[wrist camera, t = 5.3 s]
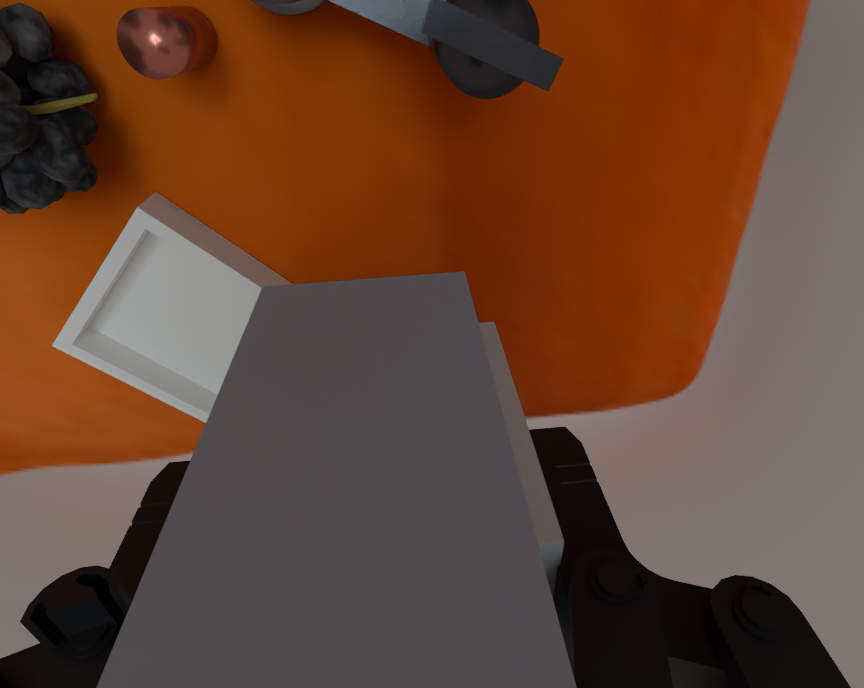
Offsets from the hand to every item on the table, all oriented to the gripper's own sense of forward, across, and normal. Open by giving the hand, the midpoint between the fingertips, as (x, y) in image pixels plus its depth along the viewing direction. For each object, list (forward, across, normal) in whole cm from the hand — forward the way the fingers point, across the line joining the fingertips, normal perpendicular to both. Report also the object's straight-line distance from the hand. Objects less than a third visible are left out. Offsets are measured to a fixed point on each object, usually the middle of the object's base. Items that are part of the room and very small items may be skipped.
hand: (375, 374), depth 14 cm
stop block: (0, 0, 0) cm, 0 cm away
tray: (+17, -12, -7) cm, 23 cm away
